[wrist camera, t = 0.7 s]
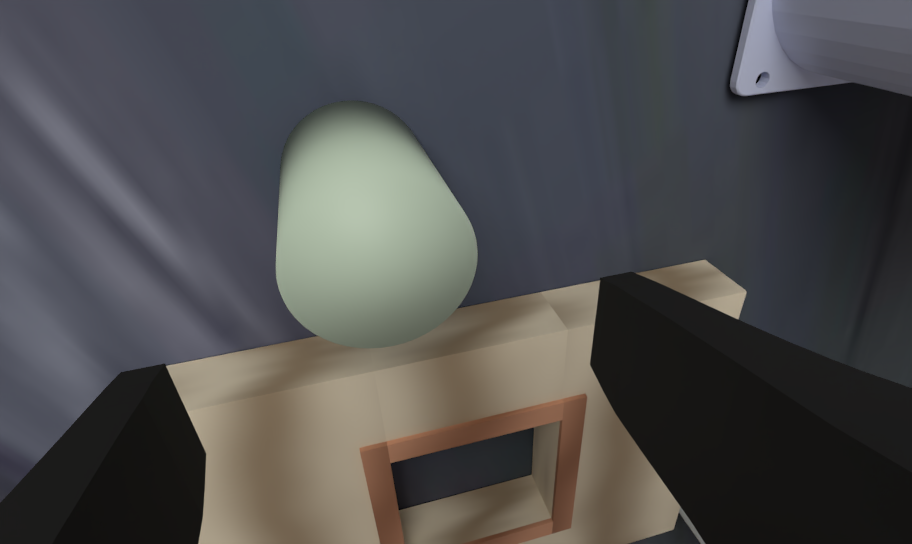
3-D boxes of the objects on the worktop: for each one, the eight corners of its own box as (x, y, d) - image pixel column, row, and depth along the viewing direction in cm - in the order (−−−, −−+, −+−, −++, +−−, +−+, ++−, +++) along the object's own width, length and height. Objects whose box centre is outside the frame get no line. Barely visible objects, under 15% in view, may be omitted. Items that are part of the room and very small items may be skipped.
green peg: (417, 92, 16) (475, 159, 11) (428, 223, 18) (479, 327, 13) (265, 110, 15) (252, 191, 10) (297, 245, 17) (300, 365, 12)
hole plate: (704, 259, 22) (750, 294, 20) (648, 490, 31) (675, 532, 29) (148, 369, 18) (128, 428, 16) (262, 602, 27) (259, 661, 24)
